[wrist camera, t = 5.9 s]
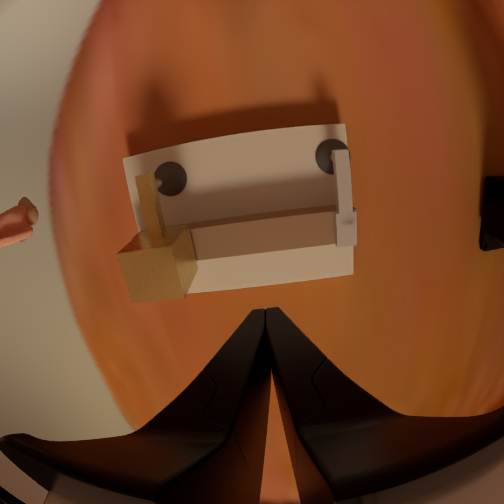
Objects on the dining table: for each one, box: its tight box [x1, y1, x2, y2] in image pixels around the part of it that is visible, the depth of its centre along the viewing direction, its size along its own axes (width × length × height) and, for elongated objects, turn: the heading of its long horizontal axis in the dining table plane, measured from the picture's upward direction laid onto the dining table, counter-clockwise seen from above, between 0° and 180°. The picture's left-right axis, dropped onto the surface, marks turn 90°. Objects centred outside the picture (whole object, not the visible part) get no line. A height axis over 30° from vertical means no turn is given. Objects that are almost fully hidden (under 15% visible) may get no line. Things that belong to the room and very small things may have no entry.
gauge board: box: [123, 124, 357, 294], centre depth 17 cm, size 14×10×3 cm
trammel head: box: [117, 171, 198, 302], centre depth 15 cm, size 3×6×5 cm, turn 8°
